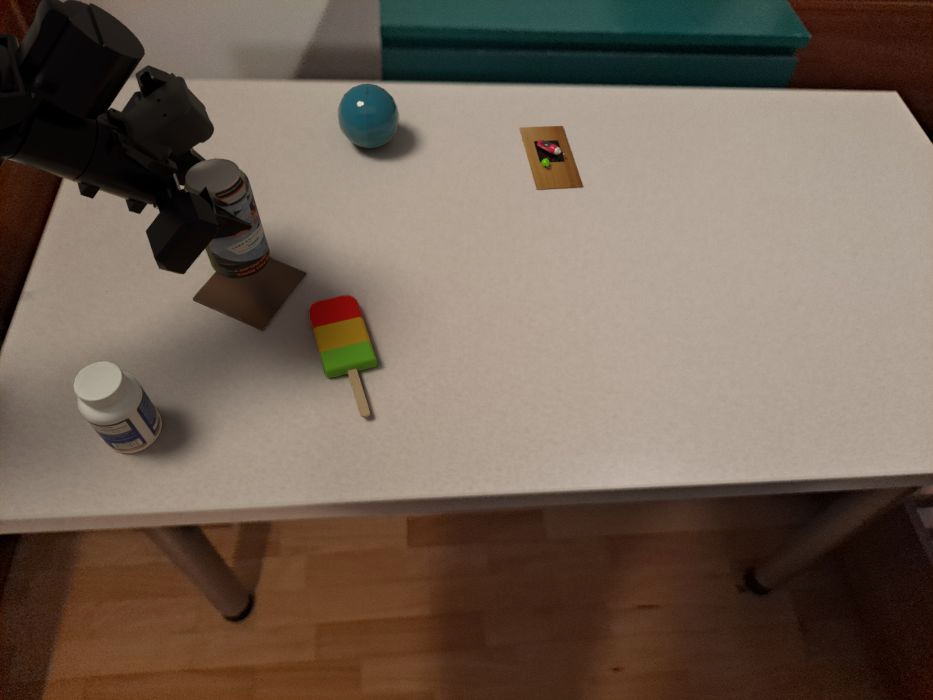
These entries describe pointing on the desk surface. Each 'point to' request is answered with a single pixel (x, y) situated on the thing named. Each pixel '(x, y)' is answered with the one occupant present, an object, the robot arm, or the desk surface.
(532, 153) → the board
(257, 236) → the beverage can
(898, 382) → the desk surface
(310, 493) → the desk surface
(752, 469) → the desk surface
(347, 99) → the ball
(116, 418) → the pill bottle
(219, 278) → the coaster
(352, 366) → the popsicle
